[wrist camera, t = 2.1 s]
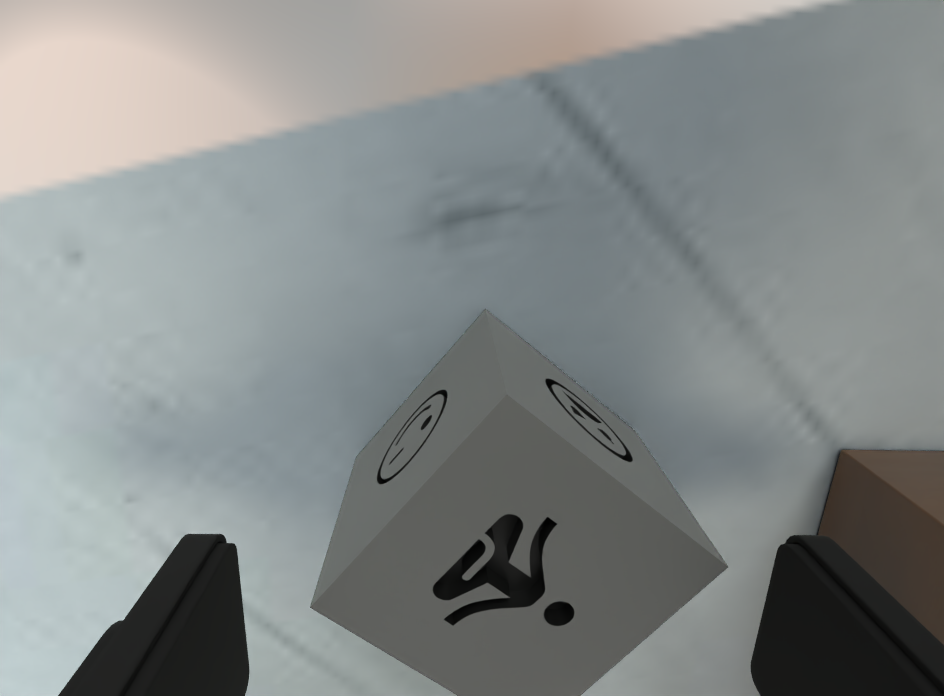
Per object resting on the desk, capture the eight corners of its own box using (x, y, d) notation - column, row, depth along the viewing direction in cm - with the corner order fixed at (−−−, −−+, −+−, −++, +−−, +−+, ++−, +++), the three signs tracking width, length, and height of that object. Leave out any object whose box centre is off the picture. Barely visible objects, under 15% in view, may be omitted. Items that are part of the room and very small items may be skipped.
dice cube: (485, 308, 13) (506, 394, 8) (634, 430, 14) (728, 567, 10) (355, 457, 14) (310, 607, 9) (505, 559, 15) (530, 738, 11)
